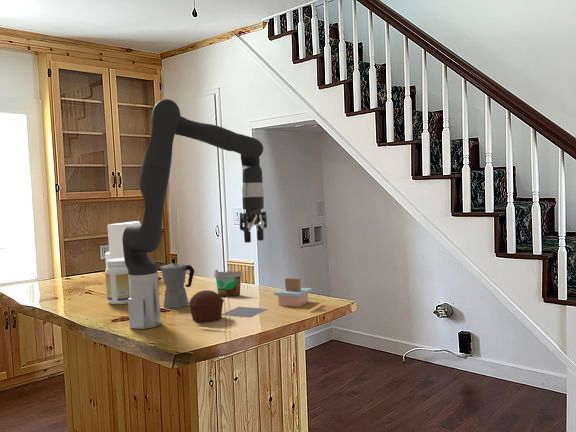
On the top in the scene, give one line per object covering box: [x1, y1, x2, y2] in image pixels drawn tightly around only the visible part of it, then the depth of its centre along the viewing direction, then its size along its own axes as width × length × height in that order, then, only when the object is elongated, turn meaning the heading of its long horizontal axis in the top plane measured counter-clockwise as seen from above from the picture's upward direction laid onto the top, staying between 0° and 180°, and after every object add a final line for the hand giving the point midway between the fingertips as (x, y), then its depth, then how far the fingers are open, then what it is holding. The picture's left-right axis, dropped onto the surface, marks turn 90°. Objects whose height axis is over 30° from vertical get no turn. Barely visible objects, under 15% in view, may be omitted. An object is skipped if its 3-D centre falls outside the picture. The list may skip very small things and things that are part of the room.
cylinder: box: [104, 221, 141, 269], centre depth 270 cm, size 17×17×28 cm
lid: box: [273, 276, 313, 297], centre depth 197 cm, size 10×10×5 cm
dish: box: [277, 293, 309, 308], centre depth 198 cm, size 8×8×4 cm
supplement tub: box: [104, 258, 130, 305], centre depth 219 cm, size 12×12×17 cm
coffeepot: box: [158, 257, 195, 310], centre depth 205 cm, size 15×9×18 cm, turn 66°
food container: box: [213, 269, 243, 298], centre depth 220 cm, size 12×6×10 cm, turn 62°
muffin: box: [188, 289, 225, 324], centre depth 180 cm, size 12×11×10 cm
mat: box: [221, 306, 268, 318], centre depth 188 cm, size 12×12×1 cm
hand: (254, 241), depth 196 cm, fingers open, 8 cm apart
